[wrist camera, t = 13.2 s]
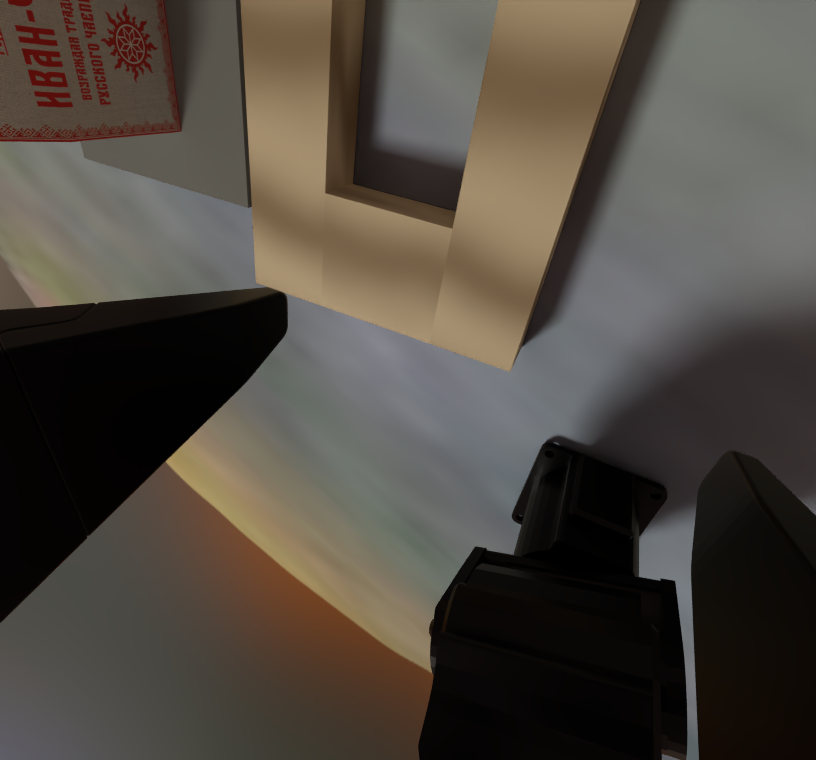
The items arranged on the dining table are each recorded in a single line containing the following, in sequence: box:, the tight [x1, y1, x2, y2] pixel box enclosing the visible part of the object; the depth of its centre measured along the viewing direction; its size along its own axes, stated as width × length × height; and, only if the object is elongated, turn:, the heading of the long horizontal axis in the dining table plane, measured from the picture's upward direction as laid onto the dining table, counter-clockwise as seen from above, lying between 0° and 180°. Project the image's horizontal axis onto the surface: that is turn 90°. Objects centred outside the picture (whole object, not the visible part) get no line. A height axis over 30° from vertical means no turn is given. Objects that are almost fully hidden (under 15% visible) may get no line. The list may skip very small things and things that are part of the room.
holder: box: [240, 0, 641, 372], centre depth 18 cm, size 20×14×2 cm
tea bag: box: [0, 0, 181, 142], centre depth 18 cm, size 4×7×10 cm, turn 172°
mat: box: [81, 0, 252, 208], centre depth 22 cm, size 14×12×1 cm
